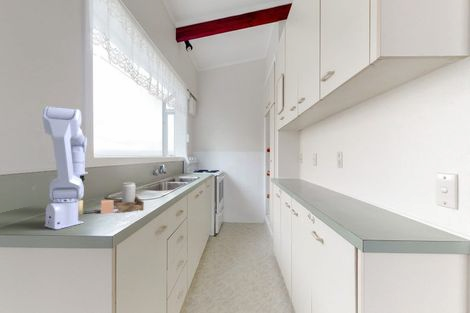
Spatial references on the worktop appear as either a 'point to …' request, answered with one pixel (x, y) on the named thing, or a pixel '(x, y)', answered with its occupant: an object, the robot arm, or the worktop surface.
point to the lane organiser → (129, 205)
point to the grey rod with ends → (105, 208)
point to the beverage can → (128, 192)
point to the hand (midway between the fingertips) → (76, 193)
